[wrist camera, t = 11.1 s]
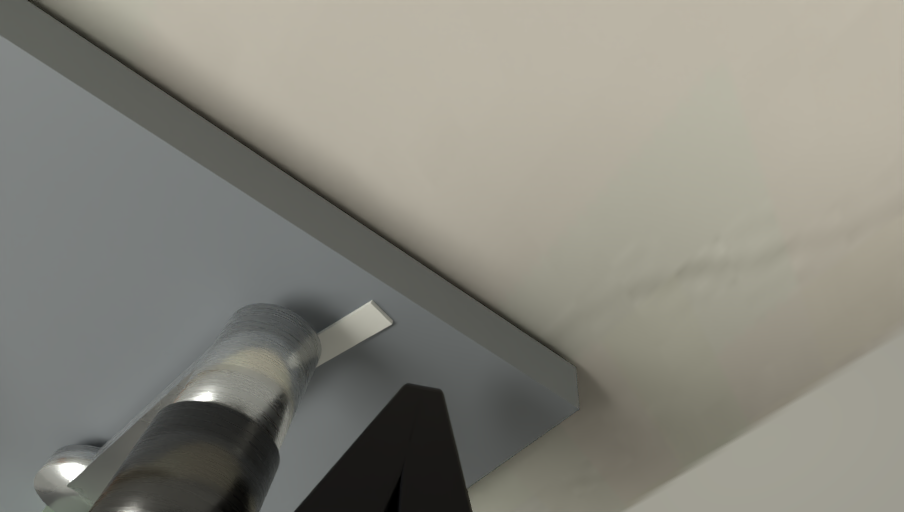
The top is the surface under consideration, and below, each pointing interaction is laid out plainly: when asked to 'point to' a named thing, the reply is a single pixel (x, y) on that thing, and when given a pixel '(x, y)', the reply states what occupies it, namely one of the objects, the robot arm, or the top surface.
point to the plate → (211, 280)
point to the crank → (199, 428)
